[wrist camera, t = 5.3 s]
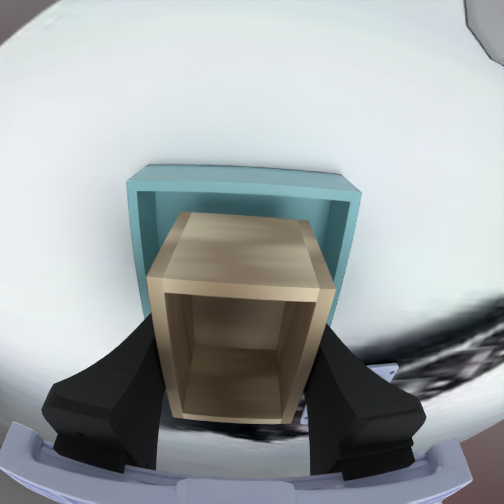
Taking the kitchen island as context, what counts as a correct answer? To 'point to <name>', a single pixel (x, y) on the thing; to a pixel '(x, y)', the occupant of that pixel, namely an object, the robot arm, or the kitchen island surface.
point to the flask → (488, 25)
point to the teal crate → (241, 208)
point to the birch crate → (238, 315)
